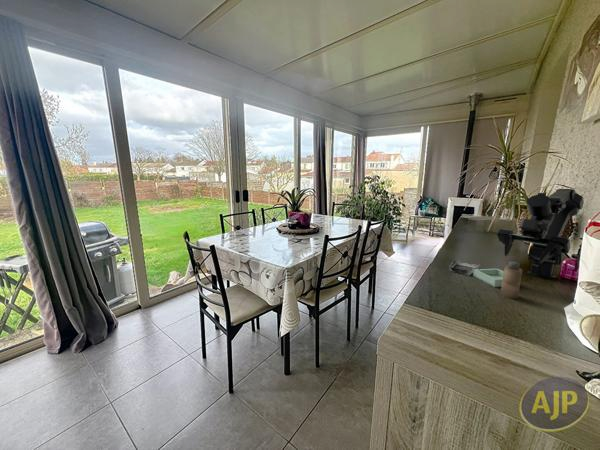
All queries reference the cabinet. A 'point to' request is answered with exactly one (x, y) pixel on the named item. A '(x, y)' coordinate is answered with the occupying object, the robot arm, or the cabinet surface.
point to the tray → (490, 276)
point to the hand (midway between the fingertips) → (521, 258)
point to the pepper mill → (511, 280)
